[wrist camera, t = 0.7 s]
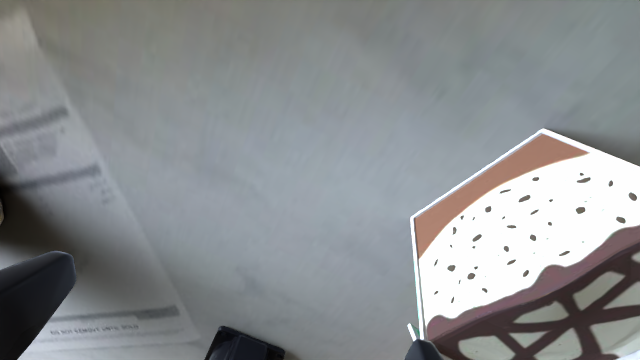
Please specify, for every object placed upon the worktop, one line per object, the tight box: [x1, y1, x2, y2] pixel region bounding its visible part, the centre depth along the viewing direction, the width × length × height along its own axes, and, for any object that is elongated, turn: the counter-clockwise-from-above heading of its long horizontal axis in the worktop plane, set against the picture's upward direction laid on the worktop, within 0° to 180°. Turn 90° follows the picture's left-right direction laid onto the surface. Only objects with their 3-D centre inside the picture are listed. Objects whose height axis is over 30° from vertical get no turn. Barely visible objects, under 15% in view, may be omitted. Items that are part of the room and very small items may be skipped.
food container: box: [408, 128, 640, 360], centre depth 17 cm, size 12×6×10 cm, turn 134°
